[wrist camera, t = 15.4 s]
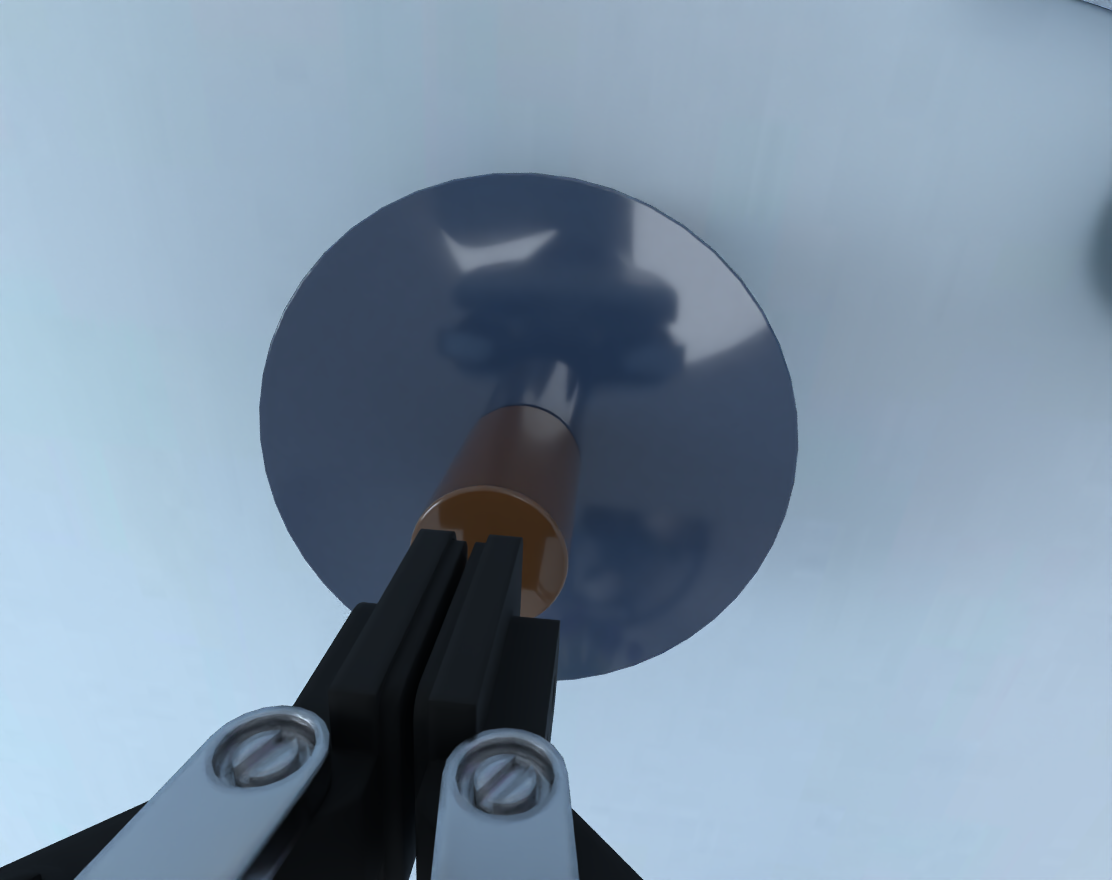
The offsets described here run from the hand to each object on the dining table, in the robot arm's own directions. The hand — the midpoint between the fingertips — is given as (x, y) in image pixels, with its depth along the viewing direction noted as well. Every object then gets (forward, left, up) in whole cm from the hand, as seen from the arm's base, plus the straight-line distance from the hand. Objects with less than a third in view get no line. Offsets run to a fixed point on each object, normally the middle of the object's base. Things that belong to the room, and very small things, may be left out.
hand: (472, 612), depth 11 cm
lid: (0, 0, -7) cm, 7 cm away
